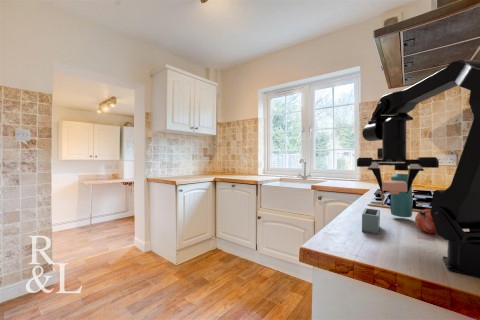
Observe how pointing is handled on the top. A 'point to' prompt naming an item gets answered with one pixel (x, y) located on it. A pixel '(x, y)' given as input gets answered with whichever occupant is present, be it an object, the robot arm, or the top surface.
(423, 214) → the pomegranate
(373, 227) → the box
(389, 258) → the top surface
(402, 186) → the lid
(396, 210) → the beverage bottle
